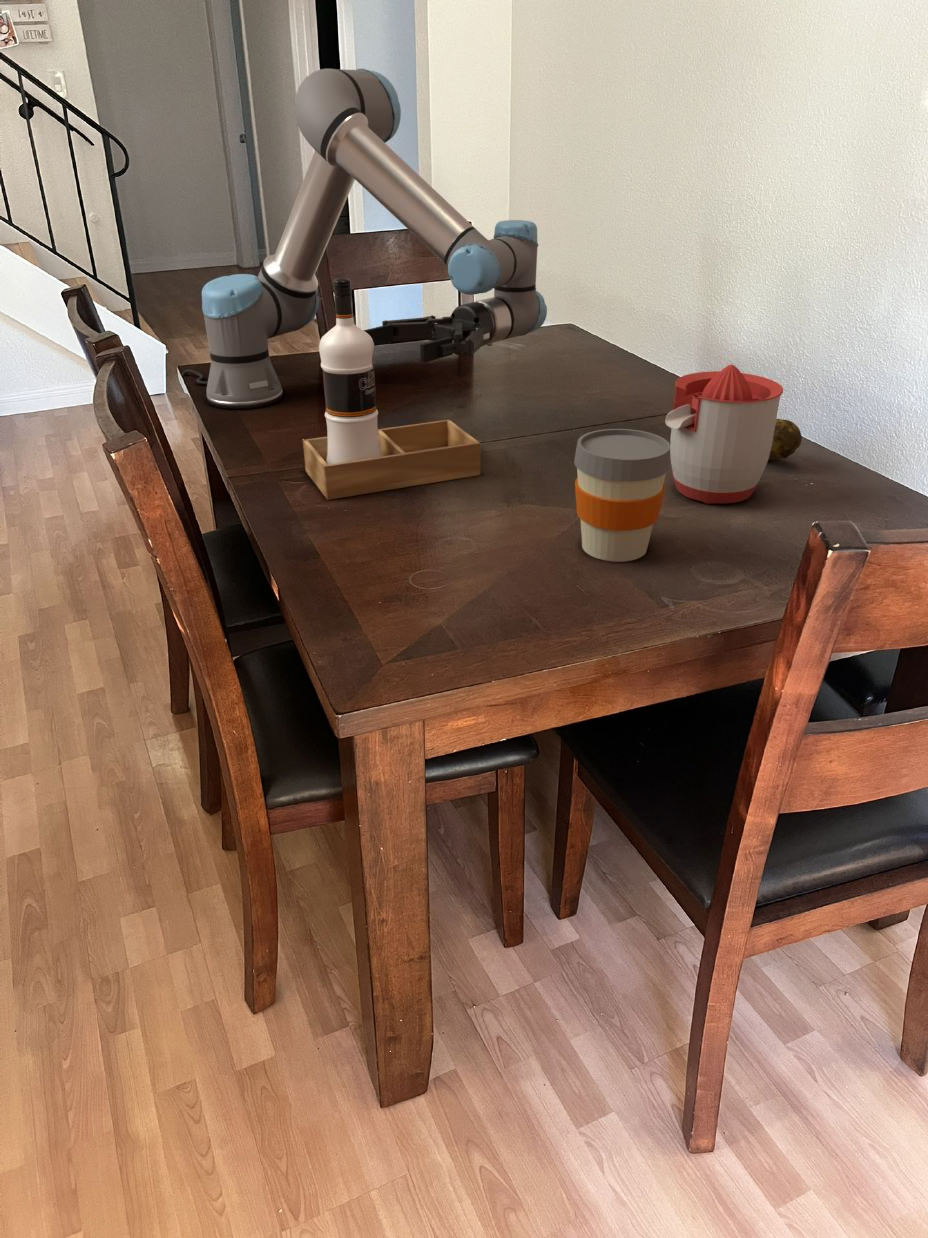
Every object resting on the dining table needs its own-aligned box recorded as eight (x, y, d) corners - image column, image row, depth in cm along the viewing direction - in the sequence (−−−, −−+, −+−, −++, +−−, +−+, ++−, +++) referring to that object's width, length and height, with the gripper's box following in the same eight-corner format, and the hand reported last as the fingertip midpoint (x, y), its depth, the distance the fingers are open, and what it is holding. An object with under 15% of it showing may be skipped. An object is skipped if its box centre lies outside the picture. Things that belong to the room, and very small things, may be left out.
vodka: (330, 461, 150) (314, 272, 135) (386, 461, 150) (376, 272, 135) (323, 482, 142) (305, 284, 127) (381, 482, 142) (370, 284, 127)
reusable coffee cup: (598, 574, 118) (607, 466, 110) (553, 537, 128) (558, 435, 120) (678, 557, 122) (692, 451, 114) (628, 522, 132) (637, 423, 124)
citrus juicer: (634, 482, 145) (647, 358, 135) (724, 467, 151) (742, 347, 140) (690, 519, 132) (708, 385, 122) (785, 501, 138) (810, 371, 128)
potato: (765, 445, 160) (773, 401, 156) (803, 471, 149) (813, 425, 145) (722, 449, 158) (729, 404, 154) (757, 475, 147) (765, 428, 143)
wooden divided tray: (305, 471, 150) (302, 439, 147) (449, 449, 159) (449, 419, 156) (327, 500, 139) (324, 466, 137) (480, 474, 148) (480, 443, 145)
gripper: (534, 357, 152) (449, 384, 138) (428, 334, 166) (341, 356, 152) (536, 311, 148) (448, 334, 134) (427, 292, 162) (338, 310, 149)
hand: (391, 346), depth 143 cm, fingers open, 13 cm apart
